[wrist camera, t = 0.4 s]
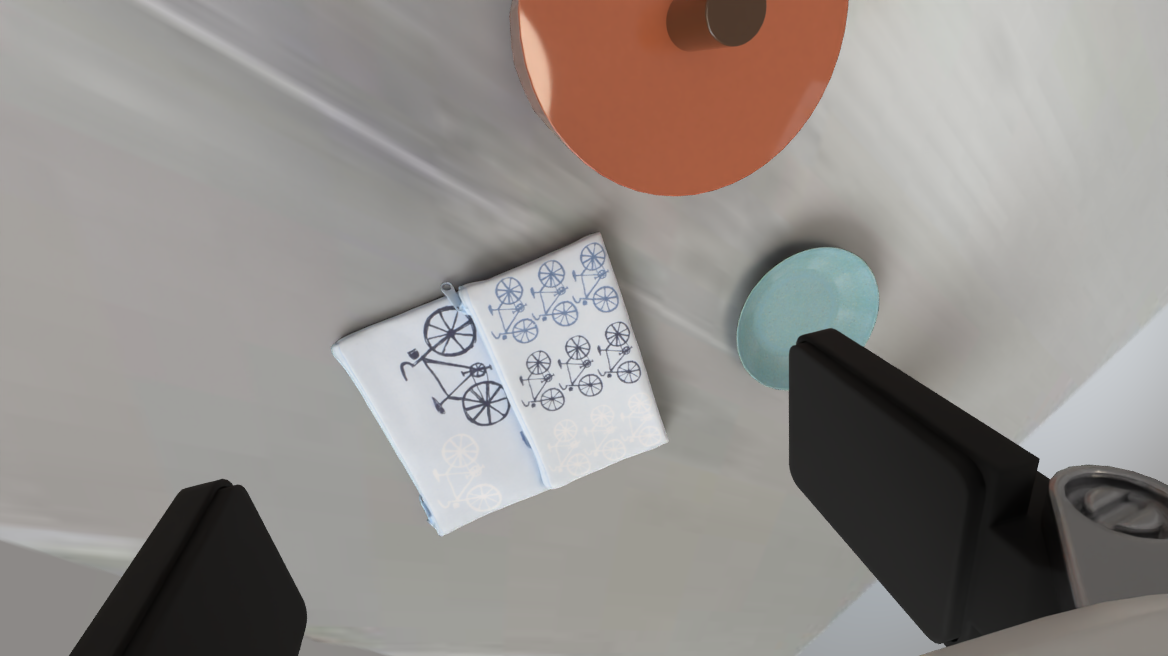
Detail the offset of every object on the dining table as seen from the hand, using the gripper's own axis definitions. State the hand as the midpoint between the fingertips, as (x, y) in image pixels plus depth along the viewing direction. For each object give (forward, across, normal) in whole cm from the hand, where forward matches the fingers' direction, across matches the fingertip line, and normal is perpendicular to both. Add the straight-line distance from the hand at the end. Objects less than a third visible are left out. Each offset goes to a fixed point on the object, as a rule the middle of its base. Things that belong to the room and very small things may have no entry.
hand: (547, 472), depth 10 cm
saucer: (+30, -22, +14) cm, 40 cm away
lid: (+21, -11, -7) cm, 25 cm away
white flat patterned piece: (+30, +1, +15) cm, 33 cm away
